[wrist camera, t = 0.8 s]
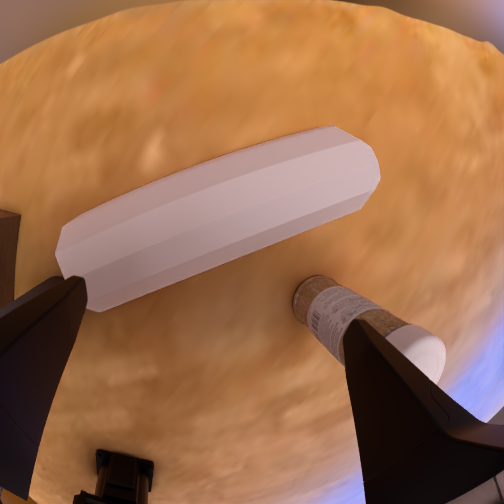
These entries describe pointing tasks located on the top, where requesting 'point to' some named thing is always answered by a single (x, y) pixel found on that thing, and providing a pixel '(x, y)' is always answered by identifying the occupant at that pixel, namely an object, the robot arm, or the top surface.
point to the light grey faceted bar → (215, 213)
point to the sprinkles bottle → (356, 306)
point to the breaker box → (8, 255)
